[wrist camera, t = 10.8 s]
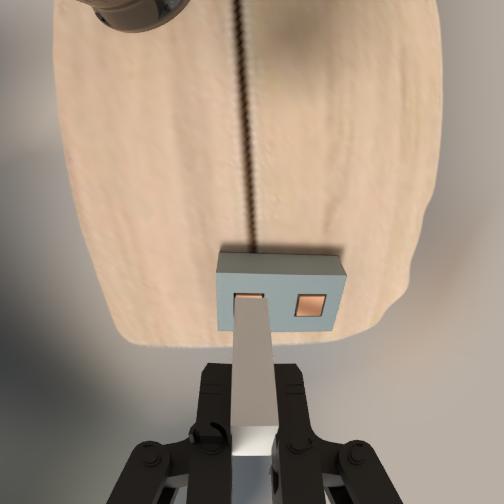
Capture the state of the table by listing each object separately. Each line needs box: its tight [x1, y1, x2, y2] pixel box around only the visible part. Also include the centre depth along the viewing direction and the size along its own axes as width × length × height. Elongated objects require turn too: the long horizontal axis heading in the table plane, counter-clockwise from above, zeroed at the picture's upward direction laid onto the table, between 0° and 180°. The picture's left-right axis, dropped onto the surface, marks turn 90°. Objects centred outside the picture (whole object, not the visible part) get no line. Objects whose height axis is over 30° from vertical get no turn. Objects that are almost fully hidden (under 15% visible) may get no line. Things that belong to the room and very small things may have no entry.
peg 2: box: [295, 294, 325, 316], centre depth 51 cm, size 4×4×6 cm
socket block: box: [216, 252, 347, 332], centre depth 51 cm, size 12×20×6 cm, turn 87°
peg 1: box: [236, 293, 262, 298], centre depth 50 cm, size 4×4×6 cm
